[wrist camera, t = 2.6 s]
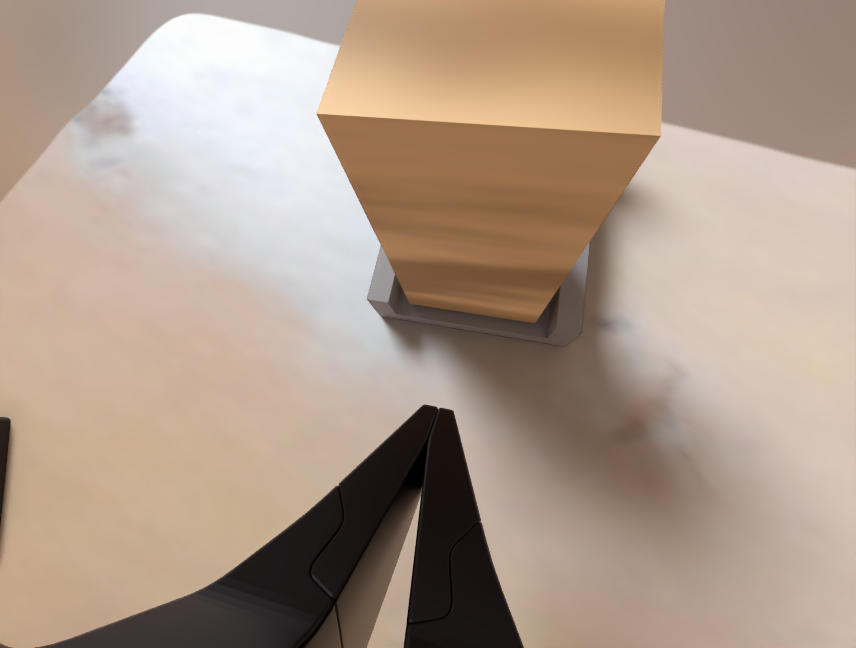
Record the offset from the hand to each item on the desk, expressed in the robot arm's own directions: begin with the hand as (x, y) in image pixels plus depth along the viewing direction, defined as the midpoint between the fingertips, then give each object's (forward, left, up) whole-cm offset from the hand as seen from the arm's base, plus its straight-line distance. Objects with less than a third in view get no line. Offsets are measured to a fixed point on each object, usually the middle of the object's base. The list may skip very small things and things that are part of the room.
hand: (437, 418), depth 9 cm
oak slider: (+6, -6, -8) cm, 11 cm away
